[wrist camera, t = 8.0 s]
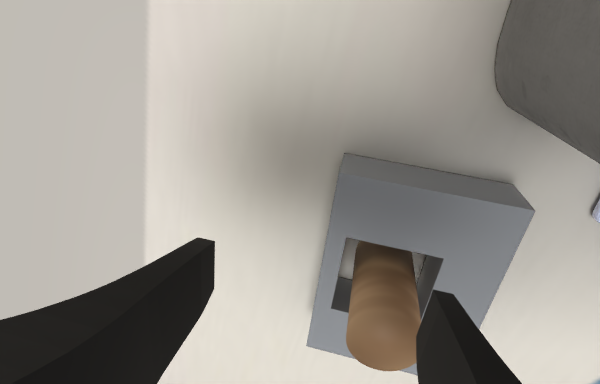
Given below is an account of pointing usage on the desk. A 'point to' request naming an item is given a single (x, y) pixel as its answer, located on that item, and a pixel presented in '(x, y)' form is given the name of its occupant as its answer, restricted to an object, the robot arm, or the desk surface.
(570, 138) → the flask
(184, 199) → the desk surface
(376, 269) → the walnut dowel
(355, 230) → the socket board
